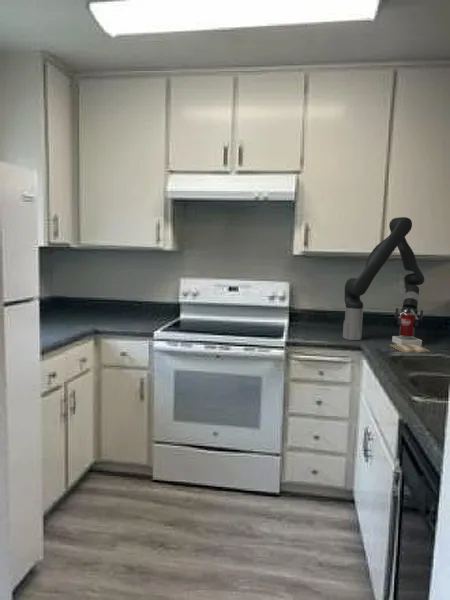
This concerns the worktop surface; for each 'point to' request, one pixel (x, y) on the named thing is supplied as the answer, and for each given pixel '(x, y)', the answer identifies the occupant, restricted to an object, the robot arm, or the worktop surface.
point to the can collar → (406, 340)
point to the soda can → (407, 325)
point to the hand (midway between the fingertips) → (407, 325)
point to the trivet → (409, 348)
